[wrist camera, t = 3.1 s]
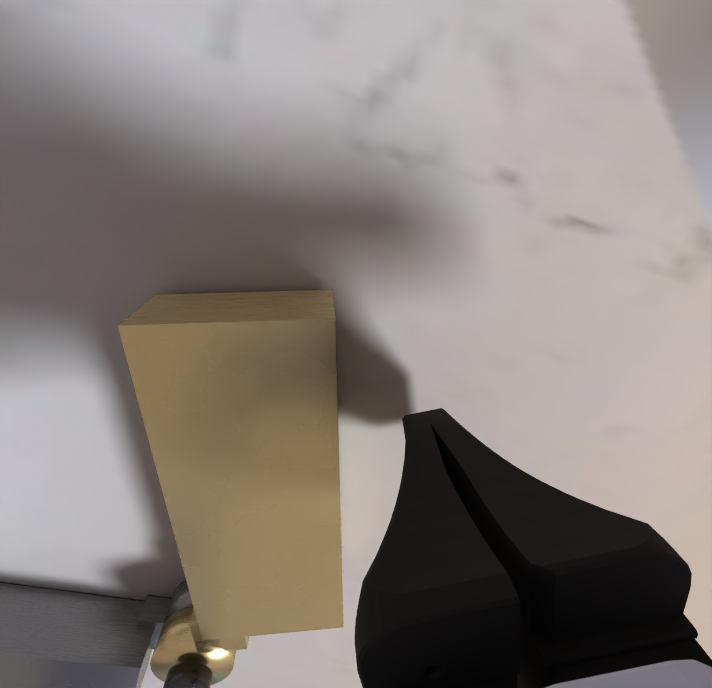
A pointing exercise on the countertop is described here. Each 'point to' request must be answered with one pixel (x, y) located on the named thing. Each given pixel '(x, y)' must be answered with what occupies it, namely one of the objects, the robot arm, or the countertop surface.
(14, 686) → the fixed leaf
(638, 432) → the countertop surface
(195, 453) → the swing leaf
